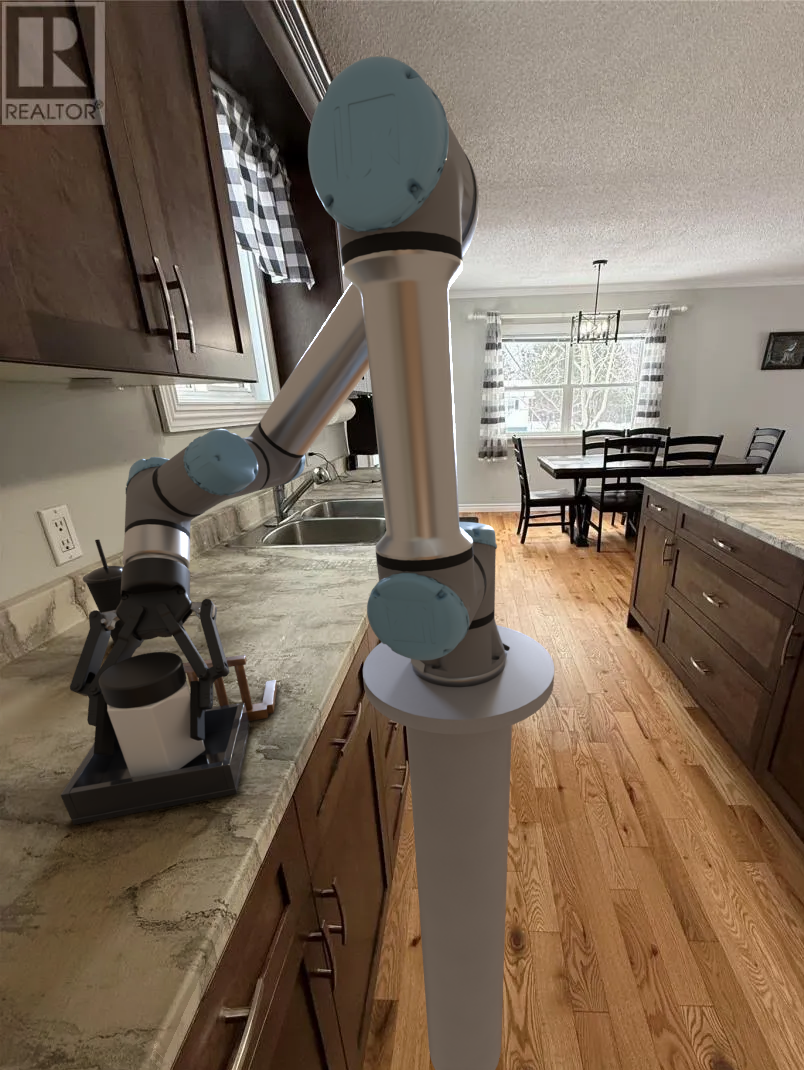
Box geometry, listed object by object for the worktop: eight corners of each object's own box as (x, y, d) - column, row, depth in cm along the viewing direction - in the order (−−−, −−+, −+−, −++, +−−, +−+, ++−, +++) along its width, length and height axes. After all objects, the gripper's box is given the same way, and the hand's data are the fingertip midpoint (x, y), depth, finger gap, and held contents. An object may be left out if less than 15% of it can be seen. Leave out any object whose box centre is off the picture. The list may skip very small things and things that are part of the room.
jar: (178, 724, 64) (155, 644, 59) (221, 740, 61) (200, 657, 56) (109, 767, 56) (76, 680, 52) (154, 789, 53) (124, 697, 49)
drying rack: (277, 687, 76) (266, 632, 72) (273, 717, 69) (261, 657, 65) (148, 707, 72) (130, 649, 68) (129, 740, 65) (108, 678, 61)
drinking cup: (95, 645, 91) (60, 543, 83) (133, 628, 98) (104, 532, 90) (123, 652, 88) (89, 547, 81) (160, 634, 95) (132, 536, 87)
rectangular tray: (250, 727, 67) (244, 702, 65) (237, 793, 56) (229, 764, 54) (116, 750, 63) (106, 723, 62) (73, 825, 52) (60, 795, 50)
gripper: (251, 572, 68) (259, 734, 60) (77, 589, 63) (60, 767, 55) (239, 546, 61) (246, 724, 53) (43, 563, 56) (17, 761, 48)
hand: (151, 746), depth 54 cm, fingers closed on jar, 9 cm apart
